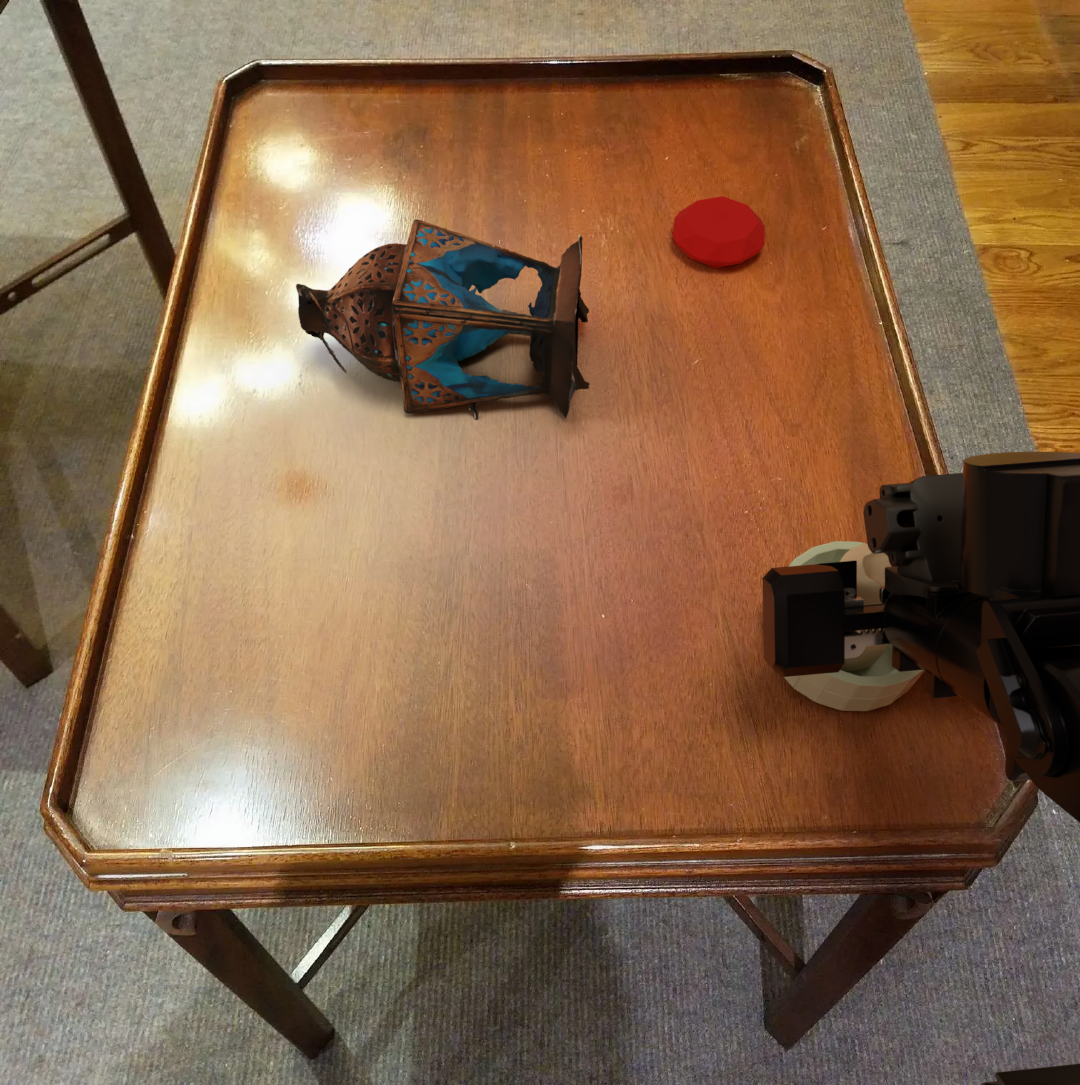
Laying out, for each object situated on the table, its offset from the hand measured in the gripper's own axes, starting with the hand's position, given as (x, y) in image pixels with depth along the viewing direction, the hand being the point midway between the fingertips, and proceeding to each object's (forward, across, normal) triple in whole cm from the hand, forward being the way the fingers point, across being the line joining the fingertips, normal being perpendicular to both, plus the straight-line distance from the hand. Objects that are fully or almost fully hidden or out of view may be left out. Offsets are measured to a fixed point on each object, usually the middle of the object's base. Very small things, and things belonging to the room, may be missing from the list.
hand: (866, 576), depth 62 cm
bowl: (+5, 0, +6) cm, 8 cm away
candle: (+4, 0, +6) cm, 7 cm away
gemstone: (+36, +1, -25) cm, 44 cm away
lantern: (+26, +28, -16) cm, 41 cm away
